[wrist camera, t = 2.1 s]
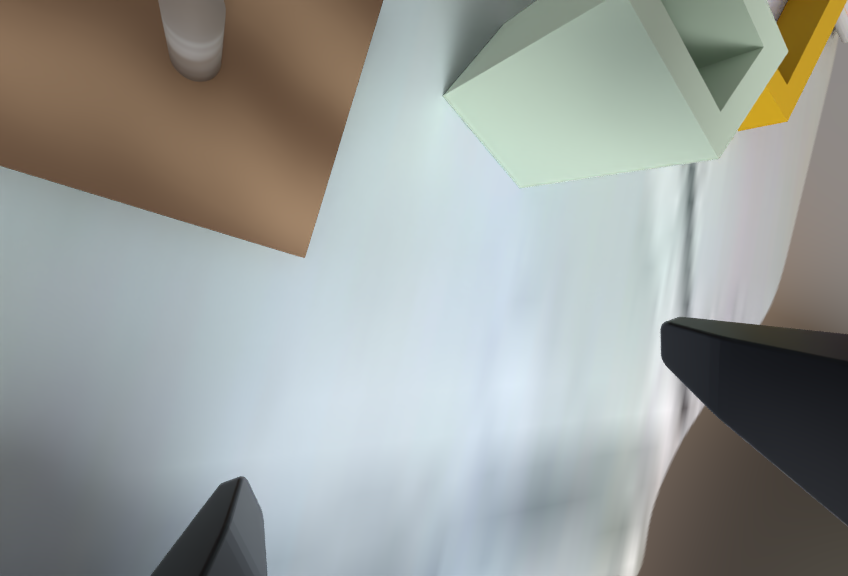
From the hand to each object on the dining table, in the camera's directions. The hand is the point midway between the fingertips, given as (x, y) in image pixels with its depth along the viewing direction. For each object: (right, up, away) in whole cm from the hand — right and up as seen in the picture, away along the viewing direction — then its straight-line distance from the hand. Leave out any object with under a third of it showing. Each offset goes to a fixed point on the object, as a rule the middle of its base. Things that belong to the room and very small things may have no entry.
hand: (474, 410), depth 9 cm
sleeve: (+3, +11, +13) cm, 18 cm away
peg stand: (-9, +10, +7) cm, 16 cm away
